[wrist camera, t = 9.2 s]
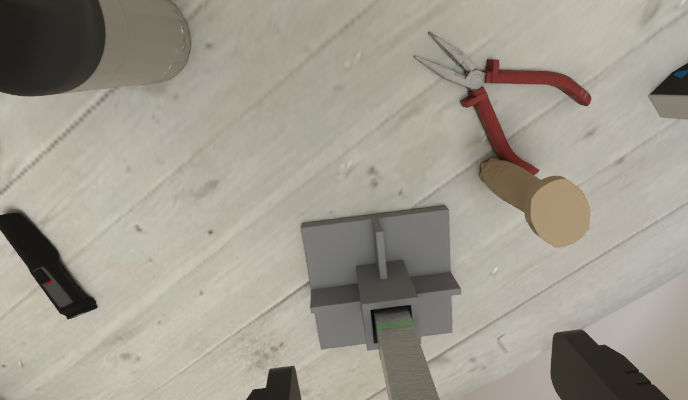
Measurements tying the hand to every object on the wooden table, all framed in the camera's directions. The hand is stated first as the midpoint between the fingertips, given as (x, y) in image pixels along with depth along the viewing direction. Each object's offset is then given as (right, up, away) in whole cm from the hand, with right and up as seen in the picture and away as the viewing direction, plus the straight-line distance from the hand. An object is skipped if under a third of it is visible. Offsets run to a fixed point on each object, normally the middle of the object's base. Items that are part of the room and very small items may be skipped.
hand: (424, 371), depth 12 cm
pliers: (+16, +18, +34) cm, 42 cm away
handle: (+15, +9, +36) cm, 40 cm away
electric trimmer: (-39, -3, +38) cm, 54 cm away
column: (+3, -8, +33) cm, 33 cm away
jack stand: (+2, -5, +40) cm, 40 cm away
